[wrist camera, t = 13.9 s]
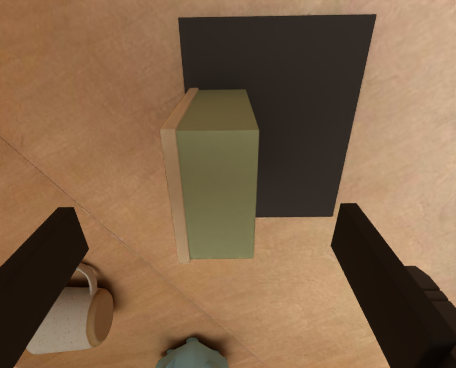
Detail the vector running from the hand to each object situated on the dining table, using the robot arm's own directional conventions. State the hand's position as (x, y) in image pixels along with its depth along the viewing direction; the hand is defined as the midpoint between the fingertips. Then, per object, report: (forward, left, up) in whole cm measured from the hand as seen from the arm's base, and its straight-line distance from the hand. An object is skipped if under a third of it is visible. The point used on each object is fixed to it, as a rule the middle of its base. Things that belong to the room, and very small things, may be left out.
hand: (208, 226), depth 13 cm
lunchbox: (0, 0, -15) cm, 15 cm away
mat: (0, +5, -15) cm, 16 cm away
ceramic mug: (+22, -20, -15) cm, 33 cm away
